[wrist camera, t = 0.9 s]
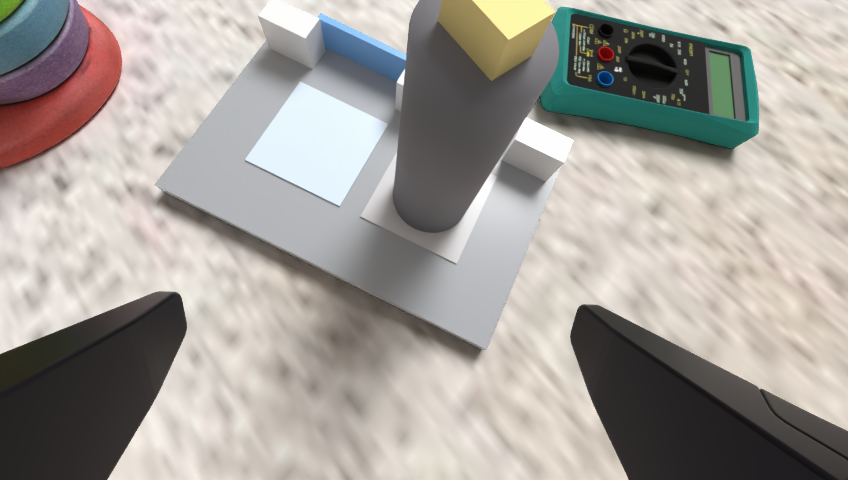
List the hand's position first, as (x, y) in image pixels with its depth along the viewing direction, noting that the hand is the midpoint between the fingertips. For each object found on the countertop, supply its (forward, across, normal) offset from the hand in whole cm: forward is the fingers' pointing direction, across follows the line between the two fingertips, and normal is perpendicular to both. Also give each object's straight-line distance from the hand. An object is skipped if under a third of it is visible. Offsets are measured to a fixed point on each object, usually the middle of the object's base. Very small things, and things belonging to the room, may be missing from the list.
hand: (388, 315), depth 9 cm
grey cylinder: (+14, -2, +2) cm, 14 cm away
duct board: (+16, +1, +1) cm, 16 cm away
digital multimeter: (+22, -17, -5) cm, 28 cm away
